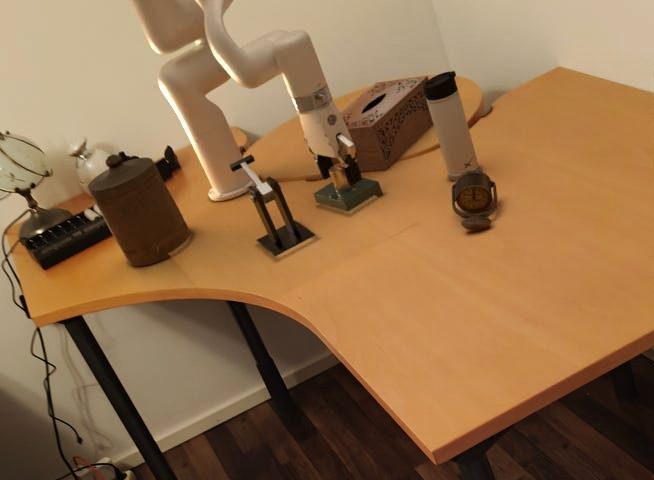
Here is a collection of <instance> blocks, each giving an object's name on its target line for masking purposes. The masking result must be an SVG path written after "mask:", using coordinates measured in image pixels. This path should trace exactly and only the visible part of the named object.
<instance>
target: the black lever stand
mask: <svg viewBox="0 0 654 480" xmlns="http://www.w3.org/2000/svg"><path fill="white" fill-rule="evenodd" d="M265 182H267V183H268V185H269V186H270V187H271V188H272V190H273V192H274V196H275V199H274V200H273V201H274V202H275V204H276V207H277V209H278V211H279V214H280V216H281V218H282V221H283V223H284V225H282V226H280V227H278V228H277V229H276V226H275V224H274V222H273V219H272V216H271V215H270V212H269V210H268V208H267V205H266V204H265V203H264V201H263V199H262V197H261V194H260V192H259V190H257V188H256V187H255V186H254V187H253V186H249V187H247V189H248V191H247V192H248V193H249V195H250V196H249V198H250V201H251V202H252V203H253V204H254V208H255V209H256V211H257V214H258V215H259V217H260V220H261V222H262V225H263V227H264V229H265V231H266V233H267V234H265V235H263V236H261V237H259V238H258V239H256V242H257V243H259V245H261V246H262V247H263V248H265V250H267V252H269V253H270V254H271V255H273V256H274V257H277V256H279V255H281V254H283V253H284V252H287V251H288V250H291V249H292V248H294V247H296V246H298V245H300V244H302V243H303V242H305V241H307V240H309V239H311V238H313V237H315V236H316V234H315V233H314V232H313V231H311V230H310V229H308V228H307V227H306V226H304V225H303V224H302V223H300V222H299V221H297V220H295V219H294V217H293V214H292V212H291V210H290V208H289V205H288V203H287V201H286V200H287V199H286V198H285V195H284V194H283V191H282V187H281V184H280V183H279V181H277V180H276V179H274V178H273V177H272V176H270V175H269V176H267V177H266V178H265Z"/></svg>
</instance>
